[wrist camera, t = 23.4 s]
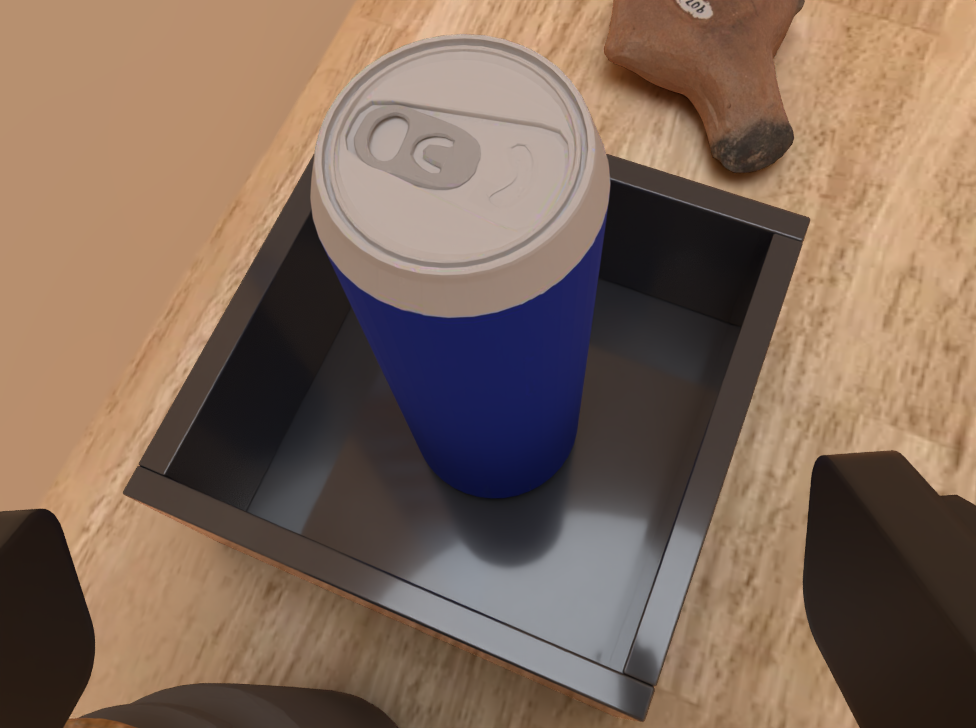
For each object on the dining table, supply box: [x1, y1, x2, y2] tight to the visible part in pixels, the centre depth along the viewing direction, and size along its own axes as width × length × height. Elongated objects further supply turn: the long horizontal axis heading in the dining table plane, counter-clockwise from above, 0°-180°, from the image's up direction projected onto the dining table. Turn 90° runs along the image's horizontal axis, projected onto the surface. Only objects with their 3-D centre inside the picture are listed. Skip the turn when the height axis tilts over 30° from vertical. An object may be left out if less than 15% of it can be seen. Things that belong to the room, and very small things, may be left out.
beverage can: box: [310, 34, 610, 498], centre depth 21 cm, size 5×5×15 cm
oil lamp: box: [604, 0, 805, 173], centre depth 32 cm, size 9×4×8 cm
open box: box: [123, 154, 810, 722], centre depth 26 cm, size 14×14×7 cm
